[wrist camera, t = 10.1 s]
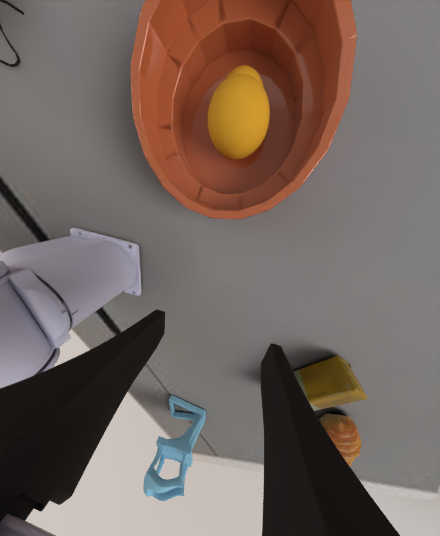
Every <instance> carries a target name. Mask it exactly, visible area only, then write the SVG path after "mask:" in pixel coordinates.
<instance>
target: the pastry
mask: <svg viewBox="0 0 440 536" xmlns="http://www.w3.org/2000/svg"><path fill="white" fill-rule="evenodd" d="M318 419H319V420H320V422H321V424H322V425H323V427H324V428H325V430H326V432H327V433H328V435H329V436H330V438H331V440H332V441H333V443H334V444H335V446H336V447H337V449H338V450H339V452H340V453H341V455H342V456H343V458H344V459H345V461H346V462H347V463H348V465H349V466H351V465H352V462H353V461H354V459H355V458H356V457H358V455H359V454H360V448H361V439H360V436H359V433H358V431H357V427H356V425H355V423H354V422H353V420H352V419H351V418H350V417H349V416H347V415H346V416H342V415H336V414H326V413H325V415H324V414H323V415H322V417H321V418H318Z"/></svg>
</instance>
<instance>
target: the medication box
mask: <svg viewBox="0 0 440 536" xmlns="http://www.w3.org/2000/svg"><path fill="white" fill-rule="evenodd" d="M350 367H351V366H350V364H348V363H347V362H346V361H345V360H344V359H342V358H341V357H339V356H335V357H332V358H330V359H327V360H324V361H321V362H319V363H316V364H313V365H310V366H308V367H305V368H302V369H299V370H297V371H294V372H293V373H294V375H295V377H296V379H297V380H298V382H299V384H300V386H301V388H302V390H303V392H304V394H305V396H306V398H307V399H308V401H309V403H310V405H311V406H312V408H313V410H314V411H316V410H320V409H325V408H329V407H334V406H338V405H342V404H347V403H351V402H356V401H360V400H365V399H367V398H368V397H367V395H366V394H365V392H364V391H363V389H362V387H361V385H360V383H359V382H358V380H357V378H356V377H355V375H354V373H353V371H352V370H351V368H350Z"/></svg>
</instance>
